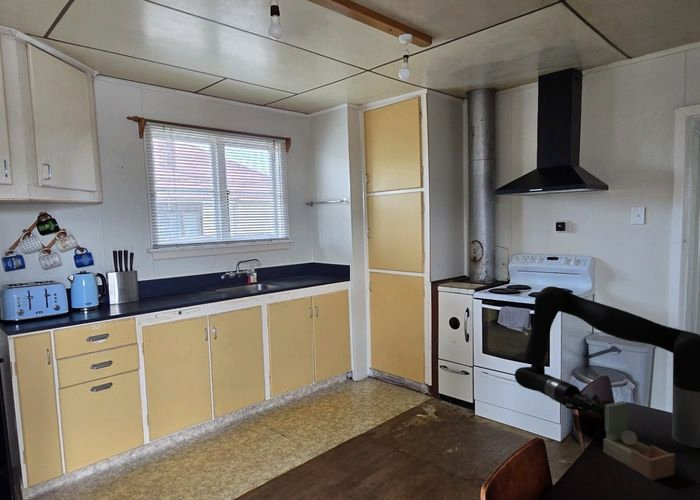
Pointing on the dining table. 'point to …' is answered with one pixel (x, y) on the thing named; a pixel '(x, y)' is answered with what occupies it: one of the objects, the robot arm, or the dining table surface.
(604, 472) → the dining table surface
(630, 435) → the ball
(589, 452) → the dining table surface
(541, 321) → the robot arm
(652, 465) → the cup
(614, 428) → the green rectangular slab
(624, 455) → the beige open box
